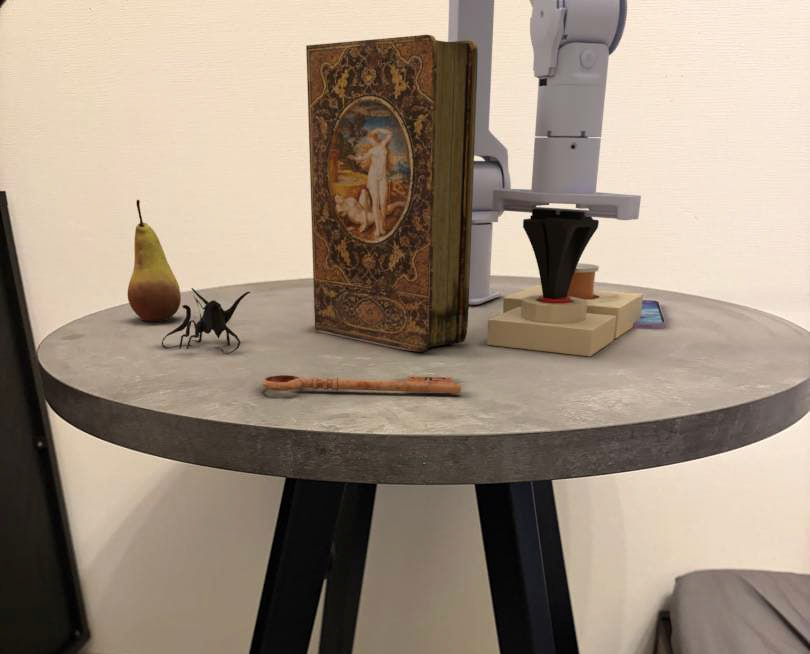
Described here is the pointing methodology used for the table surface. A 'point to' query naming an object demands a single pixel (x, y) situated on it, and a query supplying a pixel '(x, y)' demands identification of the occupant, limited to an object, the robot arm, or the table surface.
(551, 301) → the button
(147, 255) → the fruit
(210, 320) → the creature
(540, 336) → the panel
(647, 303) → the smartphone
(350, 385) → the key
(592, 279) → the cylinder
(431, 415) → the table surface
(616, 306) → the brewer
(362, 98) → the book
